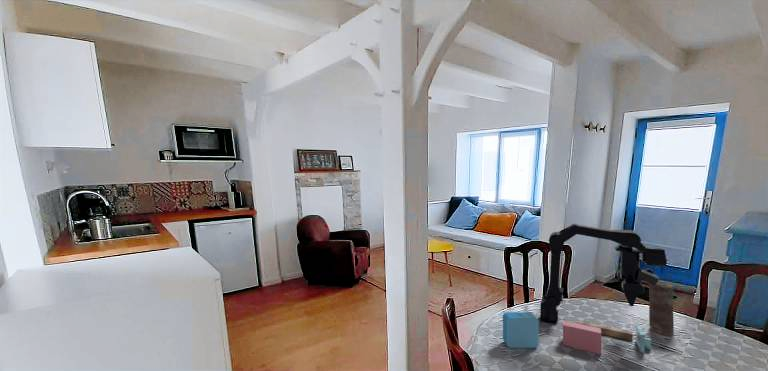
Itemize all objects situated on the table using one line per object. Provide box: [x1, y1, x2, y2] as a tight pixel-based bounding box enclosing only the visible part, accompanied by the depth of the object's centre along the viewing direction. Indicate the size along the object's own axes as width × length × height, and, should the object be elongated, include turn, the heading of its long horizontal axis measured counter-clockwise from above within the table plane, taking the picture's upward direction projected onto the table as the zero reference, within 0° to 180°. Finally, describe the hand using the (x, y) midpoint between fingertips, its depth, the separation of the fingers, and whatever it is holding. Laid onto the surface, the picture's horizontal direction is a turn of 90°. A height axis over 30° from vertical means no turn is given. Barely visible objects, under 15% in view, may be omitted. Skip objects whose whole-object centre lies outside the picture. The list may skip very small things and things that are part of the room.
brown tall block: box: [648, 282, 675, 336], centre depth 122 cm, size 8×7×20 cm
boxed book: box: [562, 320, 602, 355], centre depth 113 cm, size 12×4×8 cm, turn 58°
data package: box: [502, 311, 540, 349], centre depth 115 cm, size 12×4×12 cm, turn 88°
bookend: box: [635, 323, 652, 355], centre depth 111 cm, size 4×8×7 cm, turn 148°
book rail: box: [577, 320, 634, 341], centre depth 122 cm, size 18×2×2 cm, turn 58°
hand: (629, 301), depth 118 cm, fingers open, 9 cm apart
